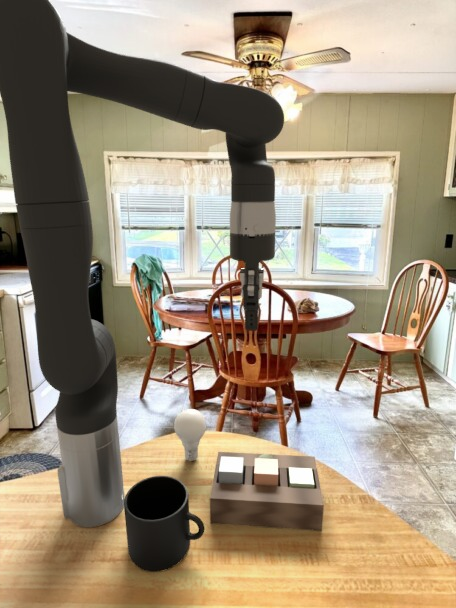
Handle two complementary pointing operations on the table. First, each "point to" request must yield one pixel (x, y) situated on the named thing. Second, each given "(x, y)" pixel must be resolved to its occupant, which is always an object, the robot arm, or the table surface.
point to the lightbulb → (190, 431)
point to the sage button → (300, 478)
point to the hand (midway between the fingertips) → (251, 329)
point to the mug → (159, 523)
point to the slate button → (231, 470)
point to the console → (267, 497)
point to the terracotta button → (266, 472)
